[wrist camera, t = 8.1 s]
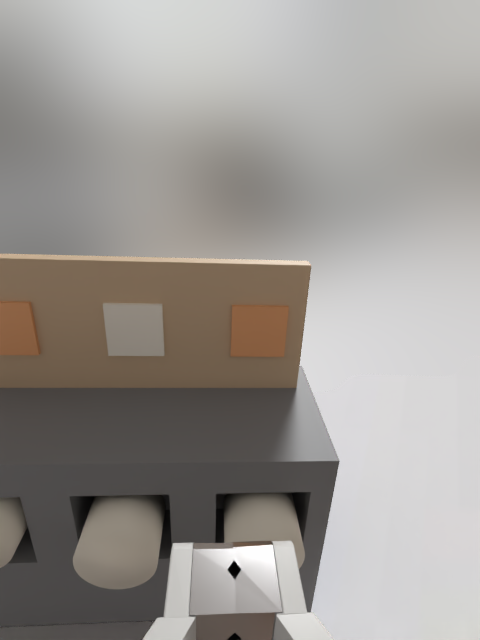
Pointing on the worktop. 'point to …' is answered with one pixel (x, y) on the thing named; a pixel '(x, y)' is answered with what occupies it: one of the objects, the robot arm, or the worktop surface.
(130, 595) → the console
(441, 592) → the worktop surface
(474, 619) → the worktop surface
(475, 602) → the worktop surface
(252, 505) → the right button
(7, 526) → the left button
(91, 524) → the middle button
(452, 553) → the worktop surface
